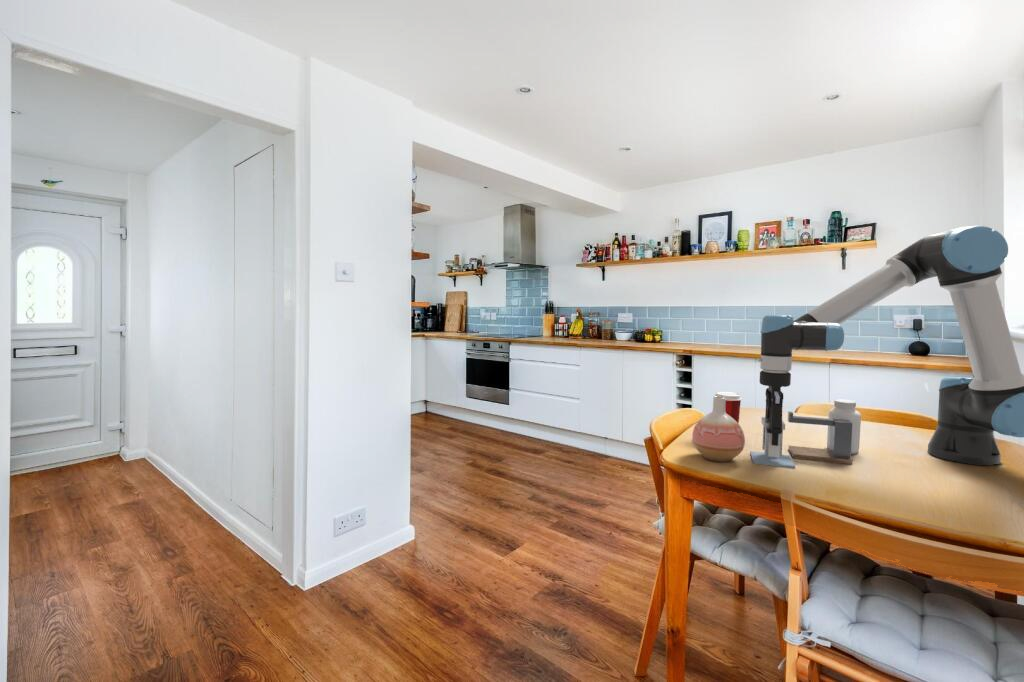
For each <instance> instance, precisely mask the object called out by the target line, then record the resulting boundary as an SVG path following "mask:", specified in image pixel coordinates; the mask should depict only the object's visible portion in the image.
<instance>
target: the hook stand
mask: <svg viewBox="0 0 1024 682" xmlns="http://www.w3.org/2000/svg"><path fill="white" fill-rule="evenodd" d="M787 422H788V423H793V424H794V423H795V424H807V425H817V426H827V427H828V426H830V446H829V449H828V448H819V447H818V448H817V447H816V448H815V447H809V446H808V447H806V446H796V445H788V452H789V453H790V455H791V456H792V457H791V458H793V459H798V460H799V459H800V460H806V461H815V462H816V461H817V462H825V463H826V462H827V463H835V464H837V463H838V464H845V465H853V459H852V458H851V455H852V454H851V440H852V422H850V421H849V420H848V419H839V418H831V419H828V417H827V418H826V417H825V418H824V417H812V416H811V417H810V416H798V415H794V413H793V411H787Z"/></svg>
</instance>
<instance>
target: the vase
mask: <svg viewBox="0 0 1024 682" xmlns="http://www.w3.org/2000/svg"><path fill="white" fill-rule="evenodd" d="M714 396H715V395H714ZM714 396H713V400H712V411H711V412H709V413H707V414H706V415H704V416H702V417H701V418H700V419H699V420H698V421H697V422H696V424H695V425H694V427H693V430H692V434H691V435H692V440H691V441H692V444H693V446H694V448H695V450H697V451H698V453H700V454H701V455H702V457H703V458H705V459H706V460H709V461H711V462H712V461H713V462H718V463H719V462H720V463H727V462H730V461H732V460H733V459H734V458H736V457H738V456H739V455H740V454H741V453H742V452H743V450H744V448H745V444H746V437H745V432H744V430H743V427H742V426H741V425H740V423H739V424H738V423H737V422H736V421H735V420H734V419H733V418H732V417H731V416H729V415H728V414H727V413H726V412H725V397H721V396H715V397H714Z"/></svg>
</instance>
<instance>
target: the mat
mask: <svg viewBox="0 0 1024 682" xmlns="http://www.w3.org/2000/svg"><path fill="white" fill-rule="evenodd" d="M749 453H750V457H751V461H752V463H753V464H755V465H764V466H773V467H779V468H780V467H781V468H791V469H796V465H795V463H794V461H793V460H792V457H791V456H790V455H789V454H782V457H771V456H767V455H765V454H764V452H762V451H752V450H751V451H750V452H749Z"/></svg>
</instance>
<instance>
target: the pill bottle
mask: <svg viewBox="0 0 1024 682" xmlns="http://www.w3.org/2000/svg"><path fill="white" fill-rule="evenodd" d="M833 405H834V407H833V408H831V409H830V410H829V411H828V417H827V419H831V418H839V419H848V420H849V421H850V422H852V440H851V455H852V454H853V455H854V454H858V453H859V449H860V440H861V427H862V426H861V423H862V415H861V412H859V411H858V410H856V409H857V402H856V401H854V400H851V399H844V398H843V399H841V398H839V399H835V400H834V401H833ZM826 437H827V439H826V447H827V449H829V446H830V426H828V425H827V436H826Z"/></svg>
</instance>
